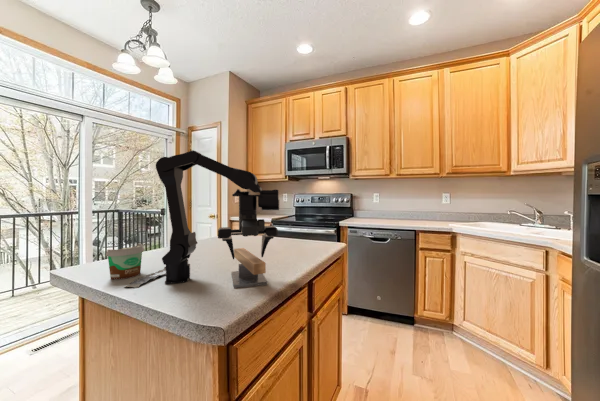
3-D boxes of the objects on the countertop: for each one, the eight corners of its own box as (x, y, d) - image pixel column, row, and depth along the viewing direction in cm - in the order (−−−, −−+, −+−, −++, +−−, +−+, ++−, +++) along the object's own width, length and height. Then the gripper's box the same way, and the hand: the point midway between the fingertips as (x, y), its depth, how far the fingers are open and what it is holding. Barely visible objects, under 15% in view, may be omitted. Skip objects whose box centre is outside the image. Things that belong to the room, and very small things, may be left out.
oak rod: (253, 274, 74) (253, 264, 73) (234, 257, 95) (234, 248, 95) (265, 273, 75) (265, 262, 75) (243, 256, 96) (243, 247, 96)
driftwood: (134, 291, 76) (134, 284, 76) (115, 289, 78) (115, 282, 78) (181, 271, 97) (181, 266, 96) (165, 270, 98) (165, 265, 98)
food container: (120, 282, 82) (120, 251, 82) (106, 280, 84) (105, 249, 84) (152, 271, 94) (152, 244, 94) (139, 270, 96) (139, 243, 96)
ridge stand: (233, 288, 77) (233, 271, 77) (231, 274, 90) (231, 260, 90) (267, 284, 80) (267, 268, 80) (260, 272, 93) (260, 258, 93)
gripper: (217, 212, 74) (218, 266, 74) (281, 211, 80) (281, 262, 80) (217, 210, 85) (218, 258, 85) (274, 209, 90) (274, 254, 91)
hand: (248, 258), depth 85 cm, fingers open, 9 cm apart
